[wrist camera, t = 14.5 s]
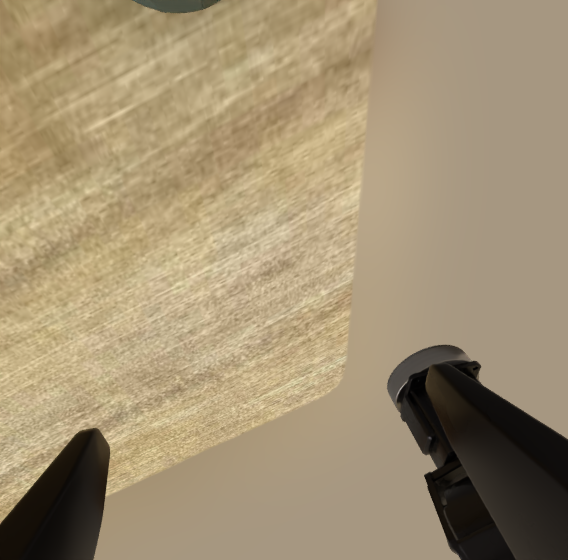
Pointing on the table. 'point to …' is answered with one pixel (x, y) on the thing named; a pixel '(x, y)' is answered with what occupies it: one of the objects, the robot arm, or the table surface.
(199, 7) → the teal faceted cup
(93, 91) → the table surface
